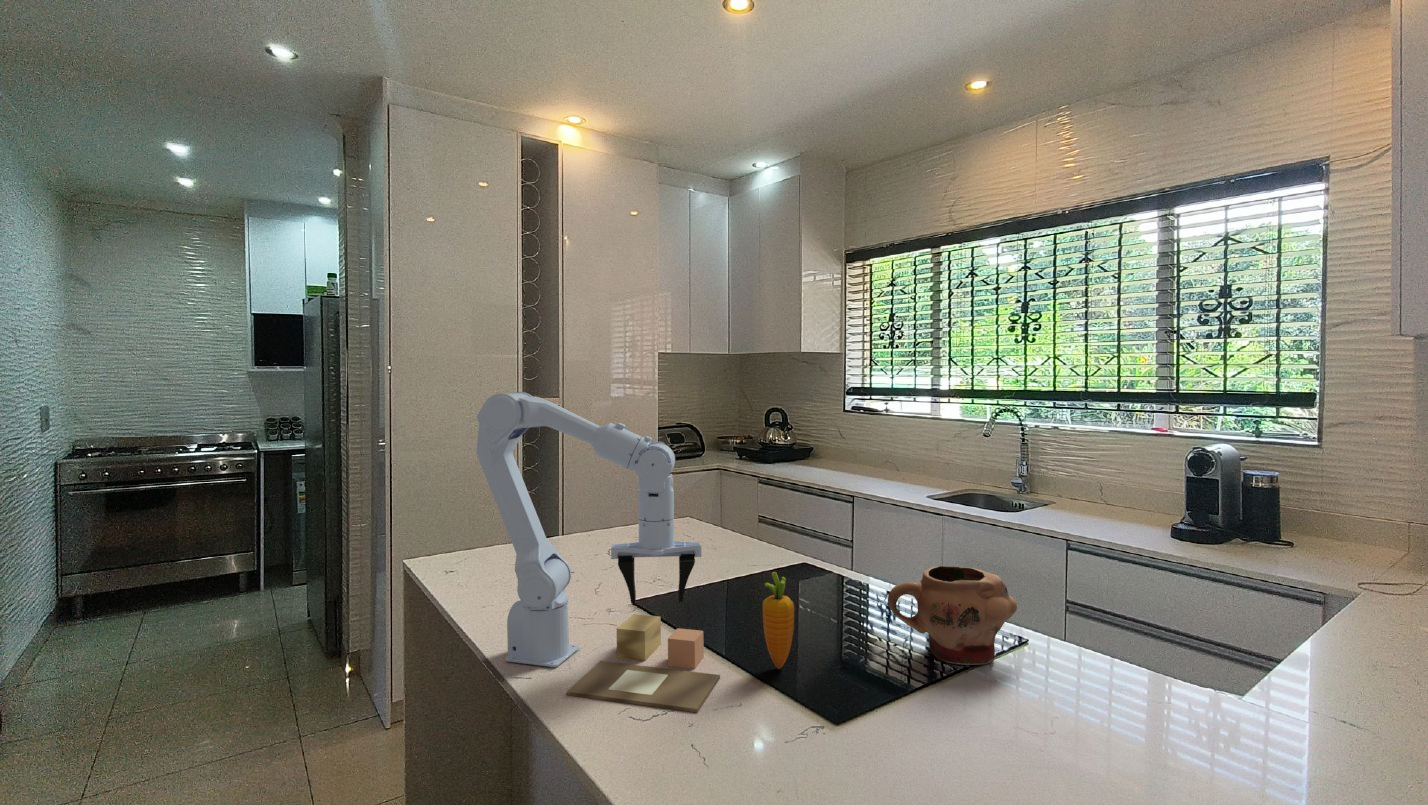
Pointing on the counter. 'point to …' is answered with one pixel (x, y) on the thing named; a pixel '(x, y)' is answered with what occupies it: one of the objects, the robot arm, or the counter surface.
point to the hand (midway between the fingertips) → (657, 600)
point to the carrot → (778, 622)
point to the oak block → (638, 637)
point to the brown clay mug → (958, 612)
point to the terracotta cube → (685, 648)
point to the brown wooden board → (646, 686)
